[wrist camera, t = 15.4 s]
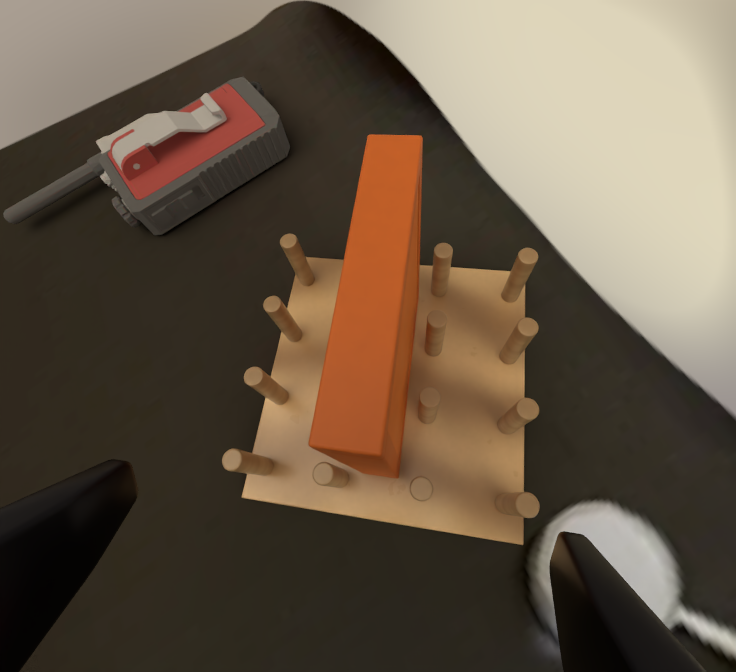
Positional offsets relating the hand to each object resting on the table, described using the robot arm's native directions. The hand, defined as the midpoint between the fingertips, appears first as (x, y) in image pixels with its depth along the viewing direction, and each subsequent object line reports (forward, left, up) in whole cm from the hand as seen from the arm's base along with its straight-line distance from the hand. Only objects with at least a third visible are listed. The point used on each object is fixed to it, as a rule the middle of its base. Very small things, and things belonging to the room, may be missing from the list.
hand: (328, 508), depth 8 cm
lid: (+6, -1, -12) cm, 13 cm away
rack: (+6, -2, -12) cm, 14 cm away
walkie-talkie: (+23, +13, -12) cm, 29 cm away
